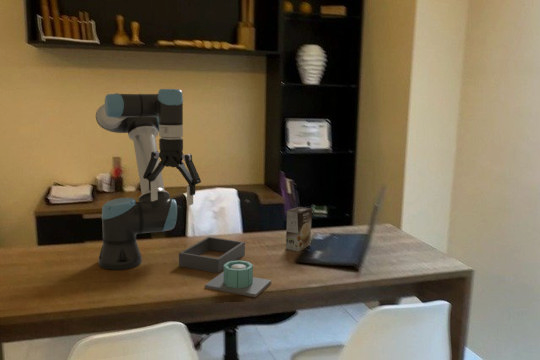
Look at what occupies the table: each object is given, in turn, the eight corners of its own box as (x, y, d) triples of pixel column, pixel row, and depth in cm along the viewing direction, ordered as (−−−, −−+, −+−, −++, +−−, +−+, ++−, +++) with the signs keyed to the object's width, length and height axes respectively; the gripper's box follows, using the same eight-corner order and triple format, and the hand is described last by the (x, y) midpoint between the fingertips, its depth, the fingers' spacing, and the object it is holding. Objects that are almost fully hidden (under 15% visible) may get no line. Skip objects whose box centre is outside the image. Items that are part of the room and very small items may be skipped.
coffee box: (298, 252, 210) (299, 212, 207) (285, 248, 214) (286, 210, 211) (310, 246, 217) (312, 208, 214) (297, 243, 221) (298, 206, 218)
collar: (219, 285, 173) (219, 267, 172) (231, 275, 181) (231, 259, 180) (244, 289, 169) (245, 271, 168) (256, 280, 178) (256, 263, 177)
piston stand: (204, 287, 173) (204, 268, 172) (223, 274, 185) (223, 256, 183) (255, 297, 166) (256, 277, 165) (271, 283, 178) (271, 264, 177)
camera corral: (179, 266, 192) (178, 253, 191) (208, 248, 212) (208, 236, 211) (218, 273, 186) (218, 259, 185) (244, 254, 206) (244, 242, 205)
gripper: (131, 136, 171) (133, 200, 175) (199, 141, 162) (199, 209, 166) (145, 134, 178) (146, 196, 182) (211, 139, 169) (211, 204, 173)
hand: (171, 202), depth 174 cm, fingers open, 13 cm apart
